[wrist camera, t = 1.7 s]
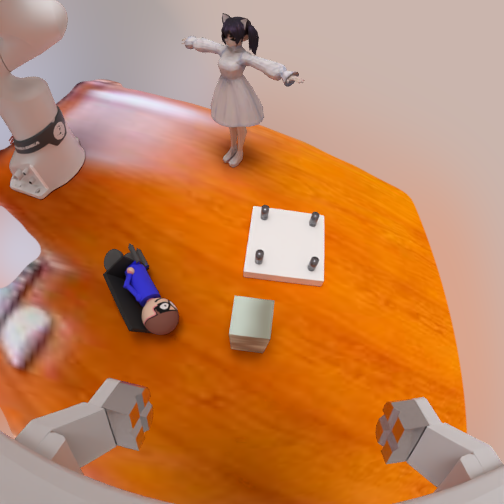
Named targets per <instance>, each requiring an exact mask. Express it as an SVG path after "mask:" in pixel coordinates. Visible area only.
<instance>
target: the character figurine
mask: <svg viewBox="0 0 504 504" xmlns="http://www.w3.org/2000/svg"><path fill="white" fill-rule="evenodd" d="M128 248H129V250H130V252H131V253H127V254H126V255H124V256H123V254H122V252H121V251H119V250H117V249H112V250H110V251H109V252H108V253H107V254H106V256H105V259H104V266H105V269H106V270H107V271H106V272H105V273H104V274H103V275H104V278H105V280H106V282H107V285H108V287H109V289H110V291H111V294H112V296H113V298H114V300H115V302H116V305H117V307H118V309H119V311H120V313H121V315H122V317H123V319H124V321H125V323H126V325H127V327H128V329H129V331H134V332H145V333H154V334H157V335H165V334H168V333H170V332H171V331H173V330H174V329H175V327H176V326H177V324H178V320H179V314H178V310H177V308H176V306H175V305H174V304H173V303H172V302H171V301H169V300H167V299H165V298H161V296H160V294H159V292H158V290H157V289H156V287H155V285H154V283H153V282H152V280H151V278H150V276H149V274H148V272H147V270H148V269H149V265H148V263H147V261H146V259H145V257H144V255H143V254H142V252H141V250H140V249H138V248H137V250H136V251H135V249H134V247H133V245H131V244H129V247H128ZM141 262H142V264H141Z"/></svg>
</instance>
